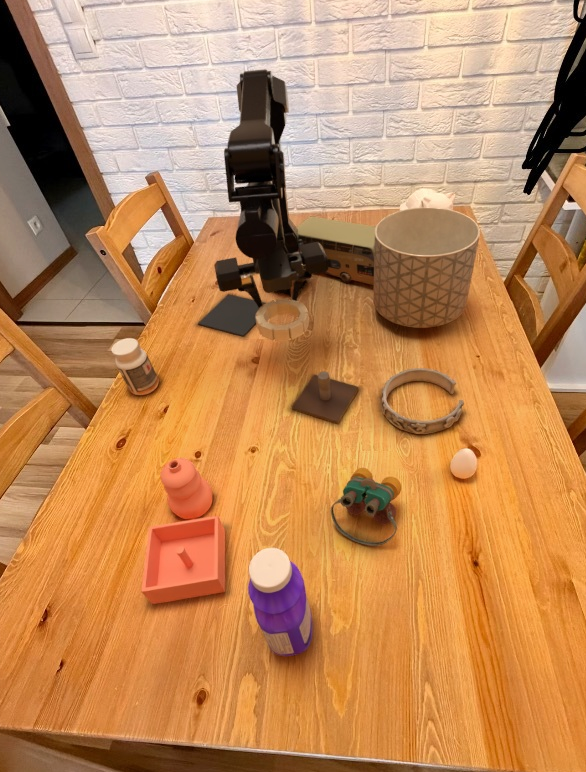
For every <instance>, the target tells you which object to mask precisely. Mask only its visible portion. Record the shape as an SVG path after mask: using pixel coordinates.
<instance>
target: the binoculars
mask: <svg viewBox="0 0 586 772" xmlns="http://www.w3.org/2000/svg"><path fill="white" fill-rule="evenodd" d="M401 492H402V483H401V482H400V480H399V479H398V478H397V477H395V476H386V477H385V478H383V480H382V481H381V482H380V483H379V482H376V481H375V480H374V477H373V474H372V472H371V470H369V469H368V468H366V467H359V468H357V469H356V470H355V471H354V472H353V473H352V475H351V476H350V479H349V481H347V483H346V485H345V486H344V488H343V489H342V496H341V497H340V498H338V500H336V501H334V503H333V504H332V505H331V507H330V516H331V519H332V521H333V524H334V526H335V527H336V529H337V530H338V531H339V532H340V534H342V535H343V536H345V537H346V538H348V539H349V540H352V541H353V542H355V543H358V544H361V545H365V546H375V547H376V546H381V545H384V544H386V543H388V542H389V541H390V540H391V539H392V538H394V536H395V534H396V533H397V530H398V525H397V522H396V521H395V519H394V518H395V517H396V515H397V509H396V507H395V505H394V504H393V503H392V501H394V500H396V499H397V497H398V496H399V495H400V494H401ZM337 504H340V505H341V506H343V507H344V508H346V511H347V512H348V513H350V514H351V515H355V516H357V515H359V516H360V515H361V514H362V513H363V512H365V513H366V514H367V515H368V516H370V517H373V520H374V521H375V522H376V523H377V524H380V525H384V526H385V525H388V524H392V525H393V528H394V532H393V533H392V534H391V535H390V536H389V537H388V538H386V539H384V540H382V541H366V540H362V539H359V538H357V537H355V536H353V535H351V534H349V532H347V531H346V530H344V529H343V528H342V527H341V526H340V524H339V523H338V521H337V518H336V515H335V512H334V507H335V505H337Z"/></svg>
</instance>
